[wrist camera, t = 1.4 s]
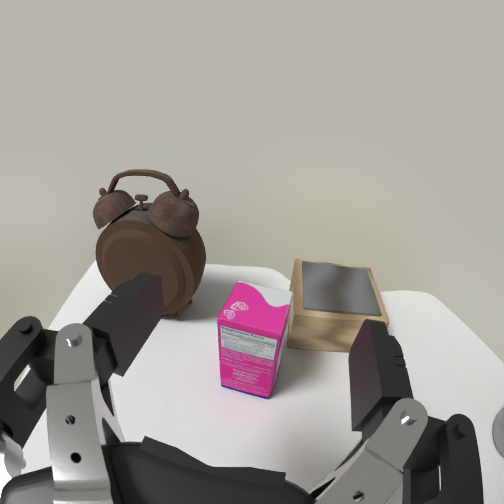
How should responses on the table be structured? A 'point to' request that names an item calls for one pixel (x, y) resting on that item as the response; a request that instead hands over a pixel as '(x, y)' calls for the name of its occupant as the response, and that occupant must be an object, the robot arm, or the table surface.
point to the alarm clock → (151, 239)
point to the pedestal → (331, 305)
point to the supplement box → (252, 337)
